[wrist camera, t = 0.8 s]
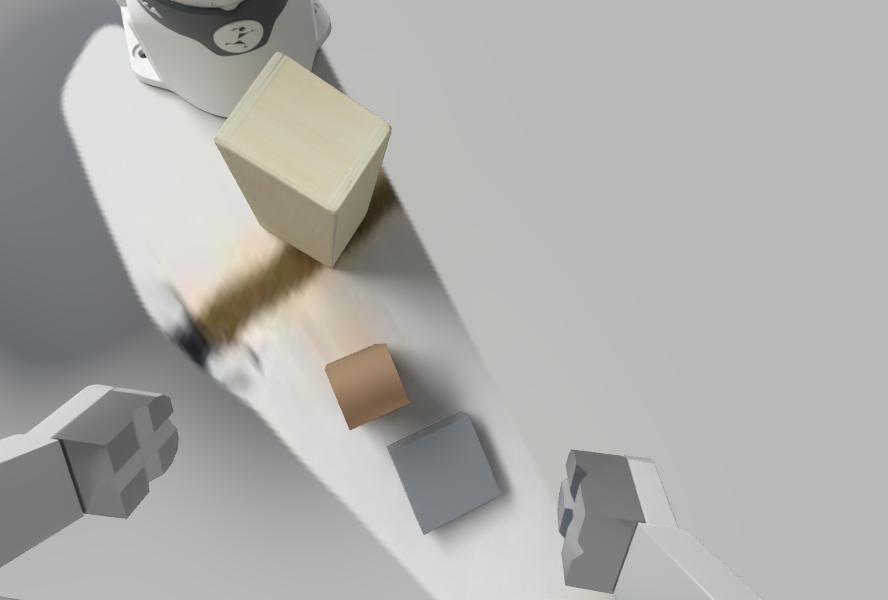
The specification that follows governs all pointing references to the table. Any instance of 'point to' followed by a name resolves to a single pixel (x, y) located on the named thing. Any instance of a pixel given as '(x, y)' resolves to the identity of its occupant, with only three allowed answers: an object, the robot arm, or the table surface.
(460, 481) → the base brick
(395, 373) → the walnut brick
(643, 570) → the robot arm
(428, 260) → the table surface
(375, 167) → the tall pale wood block
